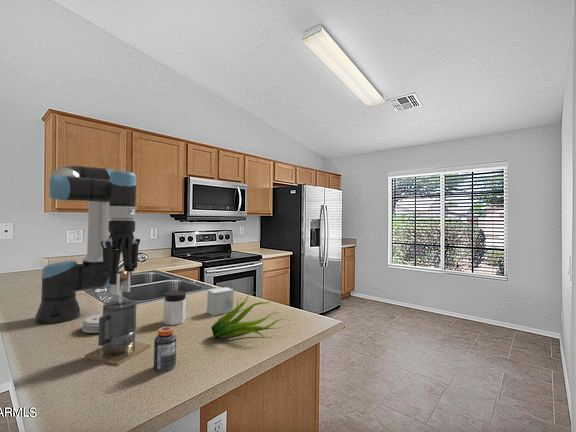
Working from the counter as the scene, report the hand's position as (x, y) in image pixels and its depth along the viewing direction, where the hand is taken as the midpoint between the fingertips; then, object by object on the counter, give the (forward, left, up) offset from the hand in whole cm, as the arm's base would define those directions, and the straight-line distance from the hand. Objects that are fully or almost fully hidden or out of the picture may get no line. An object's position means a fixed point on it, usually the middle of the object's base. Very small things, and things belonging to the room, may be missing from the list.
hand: (120, 292), depth 97 cm
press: (0, 0, -19) cm, 19 cm away
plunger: (0, 0, -11) cm, 11 cm away
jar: (-2, +30, -19) cm, 36 cm away
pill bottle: (+20, -3, -19) cm, 28 cm away
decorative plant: (+32, +31, -19) cm, 49 cm away
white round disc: (-23, +14, -20) cm, 33 cm away
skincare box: (+9, +48, -19) cm, 53 cm away
